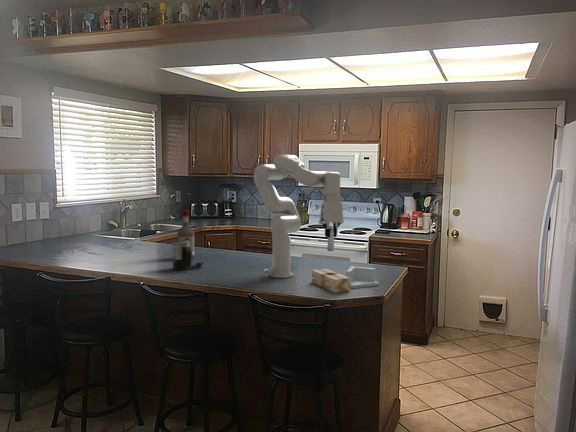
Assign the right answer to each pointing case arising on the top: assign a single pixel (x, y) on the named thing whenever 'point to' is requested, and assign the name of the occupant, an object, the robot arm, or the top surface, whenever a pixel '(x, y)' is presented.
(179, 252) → the milk frother
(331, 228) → the axle
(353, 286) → the grey angled piece
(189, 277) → the top surface
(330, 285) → the beam
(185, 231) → the liquor
